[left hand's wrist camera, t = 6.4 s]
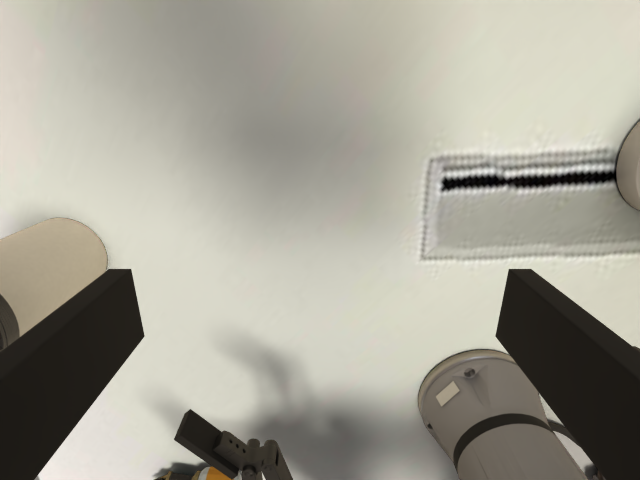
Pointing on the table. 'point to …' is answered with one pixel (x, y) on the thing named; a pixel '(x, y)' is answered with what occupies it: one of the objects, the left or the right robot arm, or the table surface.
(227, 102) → the table surface
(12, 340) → the lid
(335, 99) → the table surface
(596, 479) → the toy
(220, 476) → the spray gun
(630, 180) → the bust sculpture
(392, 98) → the table surface
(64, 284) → the jar
